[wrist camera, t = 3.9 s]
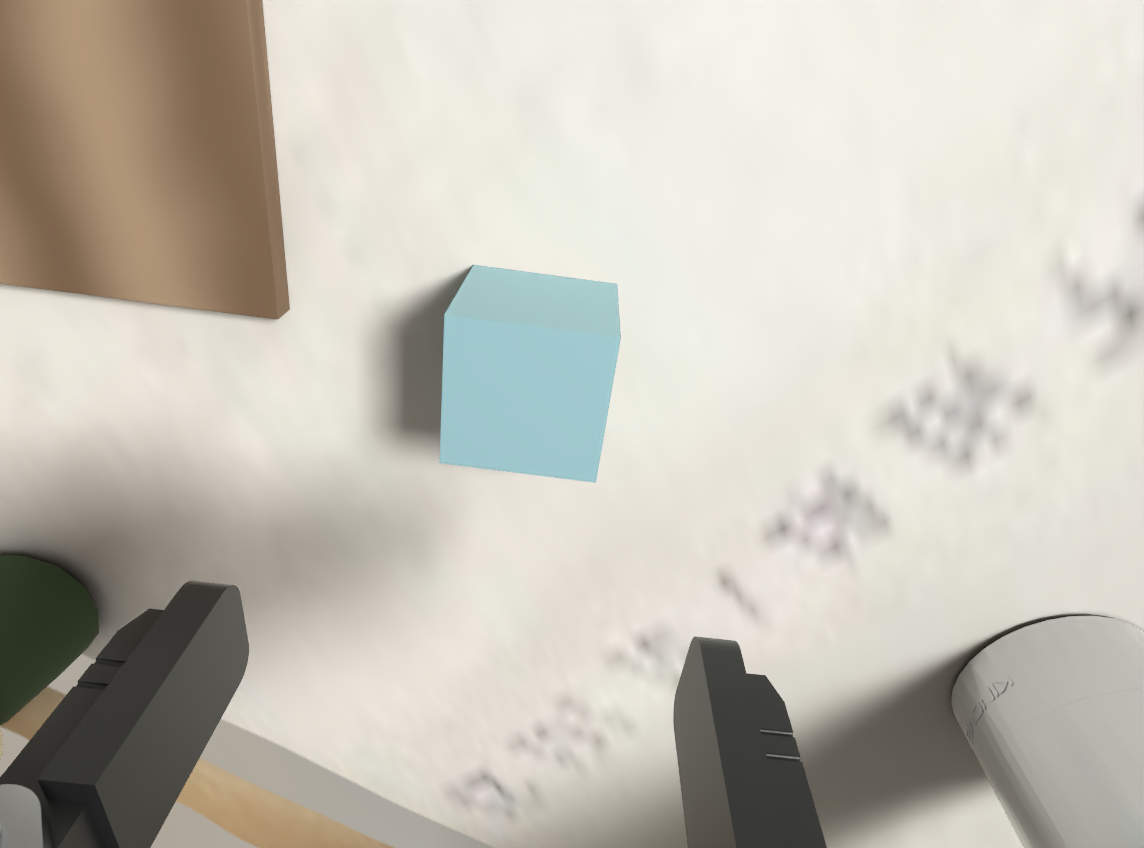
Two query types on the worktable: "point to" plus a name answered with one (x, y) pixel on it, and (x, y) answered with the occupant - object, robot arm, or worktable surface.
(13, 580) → the character mug
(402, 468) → the worktable surface
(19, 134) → the walnut board
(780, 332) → the worktable surface
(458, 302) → the teal cube
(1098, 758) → the robot arm
